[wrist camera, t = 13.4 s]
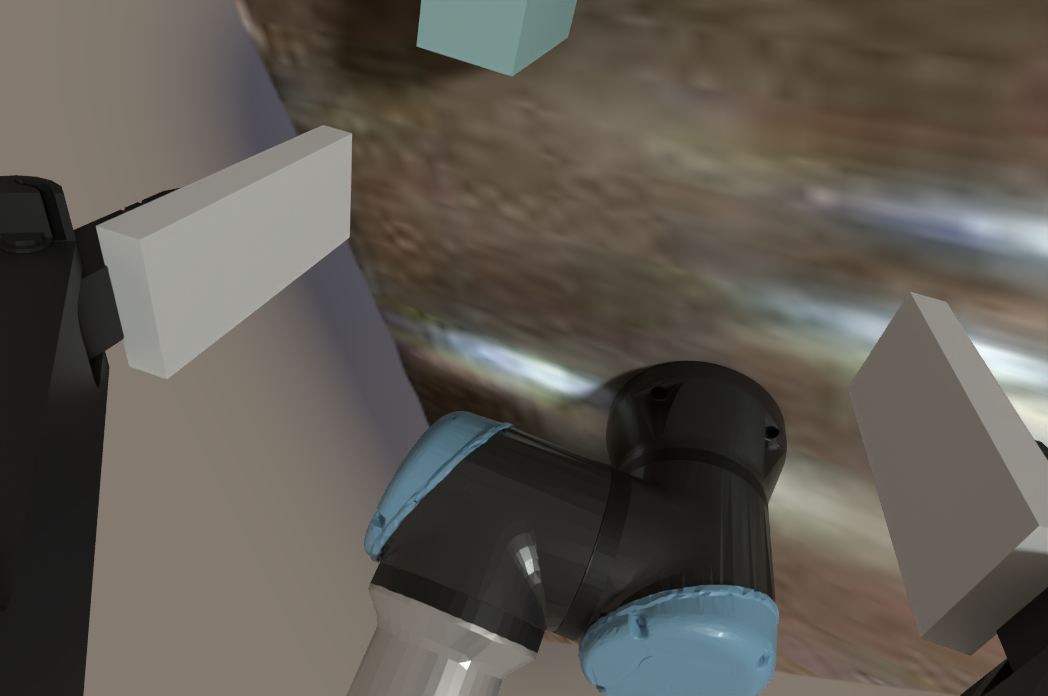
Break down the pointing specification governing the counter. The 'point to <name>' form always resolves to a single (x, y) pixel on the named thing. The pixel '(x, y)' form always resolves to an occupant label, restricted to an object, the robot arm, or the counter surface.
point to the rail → (494, 30)
